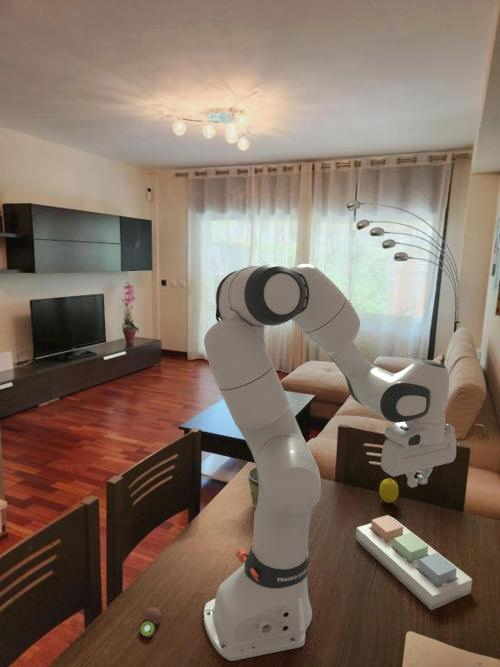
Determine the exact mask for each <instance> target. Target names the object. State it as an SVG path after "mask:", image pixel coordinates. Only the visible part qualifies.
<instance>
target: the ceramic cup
mask: <svg viewBox="0 0 500 667" xmlns="http://www.w3.org/2000/svg"><path fill="white" fill-rule="evenodd" d="M247 475H248V484H249V487H250V494H251V500H252V506H253V508H254V507H255V508H254V509H256V507H257V501H258V492H259V483H258V474H257V468H256V466H255V467H253V468H251V469H249V471H248V474H247Z"/></svg>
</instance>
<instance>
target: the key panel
mask: <svg viewBox="0 0 500 667" xmlns="http://www.w3.org/2000/svg"><path fill="white" fill-rule="evenodd" d="M391 517H392V516H391ZM392 518H393V519H394V520H395V521H397V522H398V523H399V524H401V525H402V526H403V535H405V534H408V533H412V534H413V535H415V536H416V537H417V538H418V539H420V540H421V541H422V542H424V543H425V544H426V545H427V546H428V553H427V556H429V555H432V554H435V553H438V554H439V555H440V556H442V557H443V558H444V559H445V560H447V561H448V562H449V563H451V564H452V565H453V566H454V567H456V568H457V570H456V578H455V579H452V580H450V581H448V582H445V583H443V584H440V585H438V586H437V585H436V584H435V583H434V582H433V581H432V580H430V579H429V578H428V577H427V576H426V575H425V574H423V573H422V572H421V571H420V570H419V569H418V565H419V559H421V558H419V559H416V560H414V561H411V562H410V561H408V560H407V559H406V558H405V557H404V556H403V555H401V554H400V553H399V552H398V551H397V550H396V549H394V548H393V543H394V539H391V540H388V541H385V540H384V539H383V538H382V537H381V536H379V535H378V534H377V533H376V532H375V531H374V530H372V529H371V524H372V522H371V523H368V524H365V525H361V526H357V527H356V533H355V540H356V541H357V542H358V543H359V544H360V545H361V546H362V547H363V548H364V549H365V550H366V551H367V552H369V554H371V555H372V556H373V557H374V558H375V559H376V560H377V561H378V562H379V563H380V564H381V565H382V566H384V568H386V569H387V570H388V571H389V572H390V573H391V574H392V575H393V576H394V577H395V578H396V580H398V581H399V582H401V583H402V585H404V586H405V587H406V588H407V589H408V590H409V591H410V592H411V593H412V594H413V595H414V596H416V598H417V599H418V600H420V602H422V603H423V604H424V605H425V606H426V607H427V608H428V609H429V610H431V611H434V610H436V609H437V608H441V607H442V606H445V605H447V604H448V603H452V602H453V601H455V600H458V599H460V598H463V597H465V596H467V595H469V594H471V592H472V584H473V578H471V577H470V576H469V575H468V574H466V573H465V571H463V570H461V569H460V568H459V567H458V566H456V565H455V564H454V563H452V562H451V561H449V559H447V558H446V557H444V556H443V555H441V553H439V552H438V551H436V550H435V549H434V548H433V547H431V546H430V545H429V544H428V543H426V542H425V541H424V540H422V539H421V538H420V537H419V536H417V535H416V533H413V532H412V531H411V530H409V529H408V528H407V527H406V526H405V525H403V524H402V523H401V522H399V521H398V520H397V519H395V518H394V517H392ZM427 556H424V557H427ZM424 557H422V558H424Z"/></svg>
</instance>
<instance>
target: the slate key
mask: <svg viewBox="0 0 500 667" xmlns="http://www.w3.org/2000/svg"><path fill="white" fill-rule="evenodd" d="M438 553H439V552H438ZM438 553H435V554H432V555H429V556H427V557H424V558H421V559H419V565H418V569H419V570H420V571H421V572H422V573H423V574H425V575H426V576H427V577H428V578H429V579H430V580H432V581H433V582H434V583H435V584H436V585H437V586H438V585H440V584H443V583H445V582H448V581H450V580H452V579H455V578H456V570H457V568H458V567H457V566H456V567H457V568H456V567H454V566H453V565H454V564H453V563H452V562H451V563H452V564H453V565H452V564H451V563H449V562H450V561H449V560H448V559H447V560H448V561H449V562H448V561H447V560H445V559H444V558H445V557H444V556H443V555H442V556H443V557H444V558H443V557H442V556H440V555H441V554H440V553H439V554H440V555H439V554H438Z"/></svg>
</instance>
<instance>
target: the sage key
mask: <svg viewBox="0 0 500 667" xmlns="http://www.w3.org/2000/svg"><path fill="white" fill-rule="evenodd" d="M412 533H413V532H412ZM412 533H408V534H405V535H402V536H399V537H396V538H394V543H393V548H394V549H396V550H397V551H398V552H399V553H400V554H401V555H403V556H404V557H405V558H406V559H407V560H408V561H410V562H411V561H414V560H416V559H419V558H422V557H424V556H427V553H428V546H427V545H426V544H427V543H426V542H425V541H424V542H425V543H426V544H425V543H424V542H422V541H423V540H422V539H421V538H420V539H421V540H422V541H421V540H420V539H418V538H417V537H418V536H417V535H416V534H415V535H416V536H417V537H416V536H415V535H413V534H414V533H413V534H412Z"/></svg>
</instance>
